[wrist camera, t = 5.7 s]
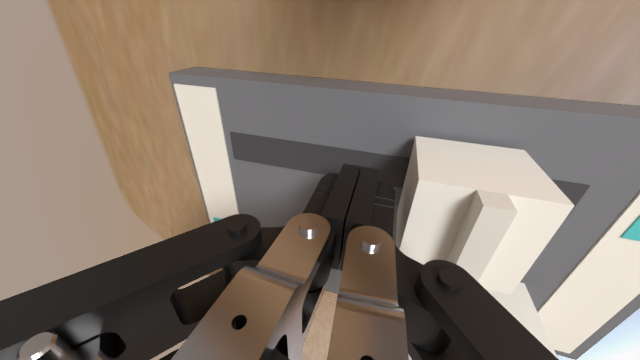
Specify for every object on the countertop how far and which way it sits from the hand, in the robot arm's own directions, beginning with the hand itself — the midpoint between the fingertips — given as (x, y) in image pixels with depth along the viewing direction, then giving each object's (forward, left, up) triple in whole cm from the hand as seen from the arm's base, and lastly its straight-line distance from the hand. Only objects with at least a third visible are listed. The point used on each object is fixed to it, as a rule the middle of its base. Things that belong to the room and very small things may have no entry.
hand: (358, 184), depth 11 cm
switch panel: (+4, +2, -4) cm, 6 cm away
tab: (0, +4, -1) cm, 4 cm away
